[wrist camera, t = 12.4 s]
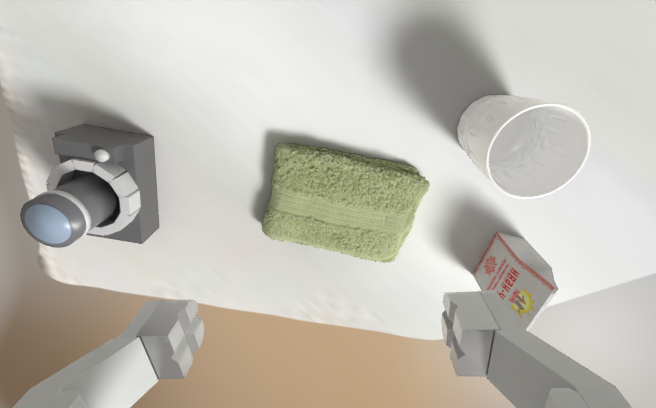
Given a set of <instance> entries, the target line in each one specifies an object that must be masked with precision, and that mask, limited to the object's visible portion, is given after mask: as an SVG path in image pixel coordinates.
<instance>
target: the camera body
mask: <svg viewBox="0 0 656 408" xmlns="http://www.w3.org/2000/svg"><path fill="white" fill-rule="evenodd" d="M55 136H56V137H54V138H52V139H53V145H54V150H55V154H59V156H60V162H61V164H59V165H57V166H55V167H54V168H53V169H52V171H51V173H50V175H49V177H48V180H47V183H48V184H46V185H47V190H48V191H51V190H53V189H55V188H57V187H60V186H62V185H64V184H66V183H68V182H70V181H72V180H74V179H77V178H79V177H81V176H83V175H85V174H89V173H95V174H96V175H98V176H99V177H101V178H102V179H104V180H106V181H107V182H109V184H110V185H111V186H112V188H113V189H114V191H115V192H116V194H117V195H118V197H119V201H120V209H119V210H118V211H117V212H116V213H114V214H113V215H111V216H110V217H109V218H107V219H106V220H104V221H103V222H101V223H100V224H99V225H97V226H96V227H94V228H93V229H92V230H90V231H89V232H88V233H87V234H86V235H91V236H97V237H103V238H109V239H115V240H121V241H127V242H133V243H139V244H142V243H144V242H145V241H146V240H147V239H148V238H149V237H150V236H151V235H152V234H153V233H154V232H155V231H156V230H157V229H158V228H159V215H158V199H157V184H156V168H155V152H154V137H153V136H147V135H142V134H136V133H130V132H124V131H118V130H113V129H107V128H101V127H95V126H90V125H84V124H82V125H79V126H76V127H72V128H69V129H65V130H62V131H58V132H55Z"/></svg>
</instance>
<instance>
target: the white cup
mask: <svg viewBox="0 0 656 408" xmlns="http://www.w3.org/2000/svg"><path fill="white" fill-rule="evenodd" d="M457 133H458V141H459V143H460V145H461V146H462V147H463V149H464V150H465V151H466V153H467V155H468V156H469V158H470V159H471V160H472V162H473V163H474V164H475V165H476V166H477V167H478V169H479V170H480V171H481V172H482V173H483V174H484V175H485V176H486V177H487V179H488V180H489V181H490V182H491V183H492V184H493V185H494V186H495V187H496V188H497V189H498V190H499V191H500V192H502V193H504V194H506V195H508V196H510V197H514V198H519V199H532V198H538V197H542V196H545V195H548V194H551V193H553V192H555V191H557V190H558V189H560V188H562V187H563V186H565V185H566V184H567V183H568V182H570V181H571V180H572V179H573V178H574V177H575V176H576V174H577V173H578V172H579V171H580V169H581V168H582V166H583V165H584V163H585V161H586V159H587V156H588V153H589V150H590V144H591V135H590V130H589V127H588V124H587V122H586V120H585V119H584V117H583V116H582V115H581V114H580V113H579V112H578V111H576V110H575V109H573V108H572V107H570V106H567V105H564V104H560V103H554V102H549V101H543V100H538V99H532V98H527V97H519V96H509V95H486V96H484V97H482V98H480V99H478V100H476V101H474V102H472V103H471V105H470V106H469V107H468V108H467V109H466V110H465V111H464V113H463V114H462V115H461V118H460V121H459V124H458V127H457Z"/></svg>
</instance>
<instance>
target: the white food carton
mask: <svg viewBox="0 0 656 408" xmlns="http://www.w3.org/2000/svg"><path fill="white" fill-rule="evenodd" d="M473 276H474V278H475V280H476V281H477V283H478V285H479V287H480V289H481V290H482V291H492V290H495V291H496V292H497V293H498V294H499V296H500V298H501V299H502V301H503V302H504V304H505V306H506V307H507V309H508V310H509V312H510V314H511V315H512V317H513V319H514V320H515V322H516V323H517V325H518V327H519V328H520V330H527V331H529V330H530V328H531V327H532V325H533V324H534V322H535V321H536V320H537V318H538V317H539V316H540V314H541V313H542V311H543V310H544V309H545V307H546V306H547V304H548V303H549V302H550V300H551V299H552V297H553V296H554V295H555V293H556V292H557V290H558V288H557V286H556V284H555V281H554V278H553V273H552V268H551V267H550V266H549V265H548V263H547V262H546V261H545V260H544V259H543V258H542V257H541V256H540V255H539V254H538V253H537V252H536V250H535V249H534V248H533V247H532V246H531V245H530V244H529V243H528V242H527V241H526V240H525V239H523V238H519V237H515V236H511V235H507V234H503V233H500V232H497V233H496V234H495V236H494V238H493V240H492V242H491V243H490V245H489V247H488V249H487V251H486V252H485V254H484V256H483V258H482V260H481V261H480V263H479V265H478V267H477V269H476V270H475V272H474V274H473Z"/></svg>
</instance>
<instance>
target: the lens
mask: <svg viewBox="0 0 656 408" xmlns="http://www.w3.org/2000/svg"><path fill="white" fill-rule="evenodd" d="M119 209H120V201H119V197H118V195H117V194H116V192H115V191H114V189H113V188H112V186H111V185H110V184H109V182H107V181H106V180H104V179H102V178H101V177H99V176H98V175H96V174H95V173H89V174H85V175H83V176H81V177H79V178H77V179H74V180H72V181H70V182H68V183H66V184H64V185H62V186H60V187H57V188H55V189H53V190H51V191H47V192H44V193H42V194H40V195H38V196H37V197H35V198H34V199H32V200H30V201H28V202H26V203H25V204H24V205H23V207H22V209H21V214H20V216H21V221H22V224H23V226H24V228H25V229H26V231H27V232H28V233H29V234H30V235H31V236H32V237H33V238H34V239H36V240H37V241H39V242H40V243H42V244H44V245H47V246H50V247H57V248H60V247H66V246H68V245H70V244H72V243H73V242H74V241H77V240H79V239H81V238H82V237H83V236H85V235H86V234H87V233H88V232H89V231H90V230H92V229H93V228H94V227H96V226H97V225H99V224H100V223H101V222H103V221H104V220H106V219H107V218H109V217H110V216H111V215H113V214H114V213H116V212H117V211H118V210H119Z"/></svg>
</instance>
